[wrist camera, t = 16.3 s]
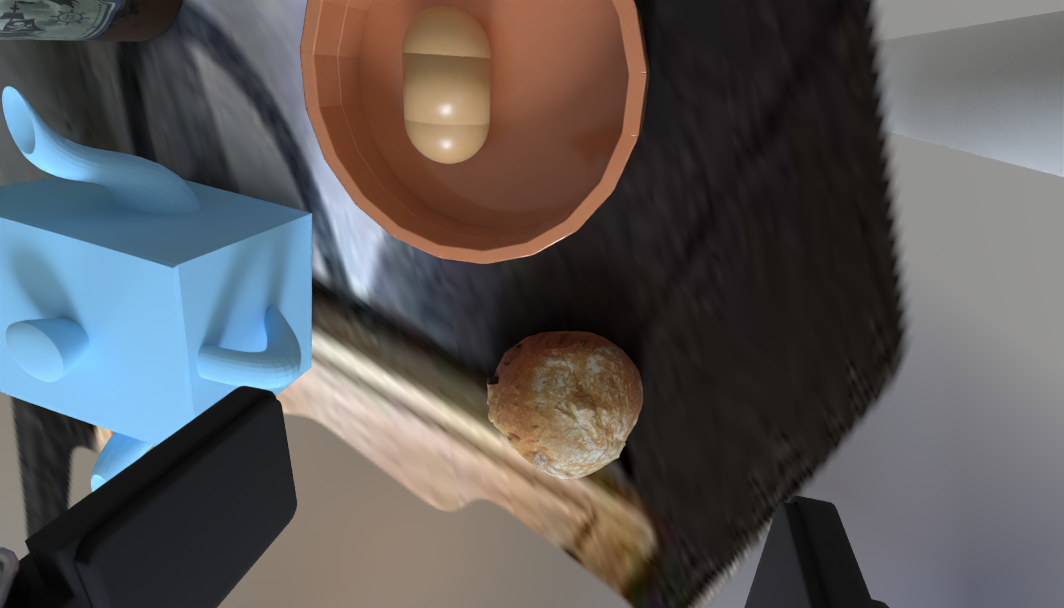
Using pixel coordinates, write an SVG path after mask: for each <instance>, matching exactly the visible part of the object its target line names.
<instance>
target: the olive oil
mask: <svg viewBox="0 0 1064 608" xmlns="http://www.w3.org/2000/svg"><path fill="white" fill-rule="evenodd" d="M180 3H181V0H0V40H77V41H83V40H93V41H129V42H135V41H145V40H150V39H153V38H155V37H157V36H159V35H160V34H162V33H163V32H164V31H165V30H166V29H167V28H168V27H169V26H170V25H171V23H172V22H173V20H174V19H175V17H176V15H177V12H178V10H179V7H180Z"/></svg>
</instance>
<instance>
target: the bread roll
mask: <svg viewBox="0 0 1064 608" xmlns="http://www.w3.org/2000/svg"><path fill="white" fill-rule="evenodd" d="M487 387H488V400H487V404H489V411H488V413H489V420H490V422H493V424H494V426H495V427H497V428H498V429H499V430H500V431H501V432H502V434H503V435H505V437H506V438H507V439H508V441H509V444H510V446H511V447H512V448H513V449H515V450H517V451H518V452H519V453H520V454H521V455H522V456H523V457H524V458H525V459H526V460H527V461H528V462H530V463H531V464H532V465H534V466H535V467H536V468H538V469H540V470H541V471H543V472H545V473H547V474H549V475H551V476H553V477H558V478H564V479H578V478H580V477H583V476H586V475H589V474H591V473H593V472H595V471H597V470H599V469H601V468H602V467H603V466H604V465H606V464H608V463H610V462H611V461H612V460H614V459H616V458H619V455H620V452H621V450H622V449H623V447H624V446H625V441H626V440H627V436H628V435H629V433H630V432H631V431H632V428H633V427H634V425H635V424H636V422H637V419H638V415H639V412H640V410H641V408H642V403H643V390H642V382H641V377H640V374H639V371H638V369H637V368H636V366H635V365H634V363H633V362H632V360H631V359H630V358H629V356H628V355H627V354H626V353H625V352H624V351H623V350H622V349H620V348H619V347H618V346H616V345H615V344H614V343H612V342H610V341H609V340H607V339H606V338H604V337H602V336H599V335H597V334H594V333H591V332H580V331H572V332H571V331H556V332H543V333H538V334H536V335H534V336H529V337H526V338H525V339H523V340H522V341H520V342H519V343H518V344H517V345H515V346H513V347H512V348H510V349H509V350H508V351H507V352H505V353H504V356H503V358H502V359H501V361H500V363H499V366H498V367H497V369H496V372H495V374H494V376H491V377H489V378H488V380H487Z"/></svg>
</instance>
